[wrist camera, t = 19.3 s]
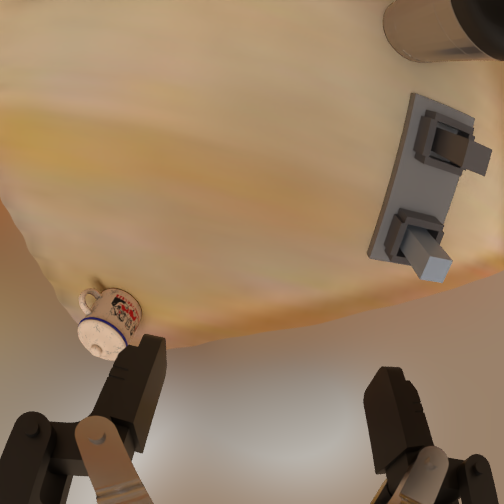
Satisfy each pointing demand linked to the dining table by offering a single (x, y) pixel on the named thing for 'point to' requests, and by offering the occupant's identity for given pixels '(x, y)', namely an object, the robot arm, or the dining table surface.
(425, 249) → the plug
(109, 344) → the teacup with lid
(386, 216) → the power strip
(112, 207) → the dining table surface
